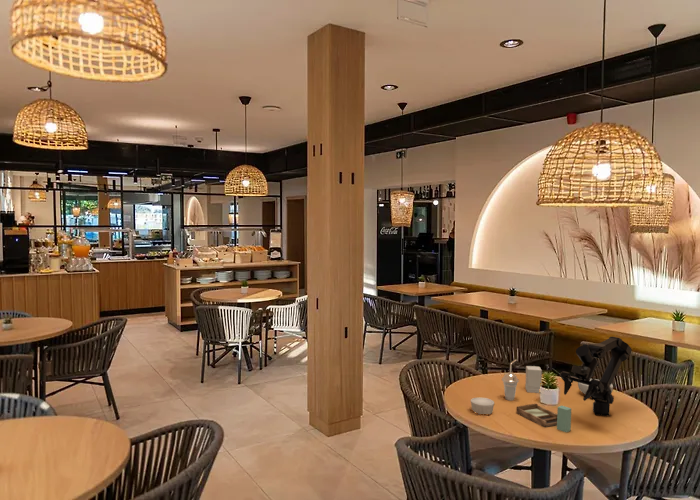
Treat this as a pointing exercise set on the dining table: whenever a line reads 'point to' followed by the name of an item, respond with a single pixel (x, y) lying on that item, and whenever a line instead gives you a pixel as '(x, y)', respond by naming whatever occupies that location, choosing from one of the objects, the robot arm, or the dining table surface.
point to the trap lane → (538, 415)
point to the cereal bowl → (584, 387)
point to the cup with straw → (510, 384)
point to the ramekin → (482, 405)
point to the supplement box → (533, 379)
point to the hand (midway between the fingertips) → (574, 397)
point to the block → (564, 419)
